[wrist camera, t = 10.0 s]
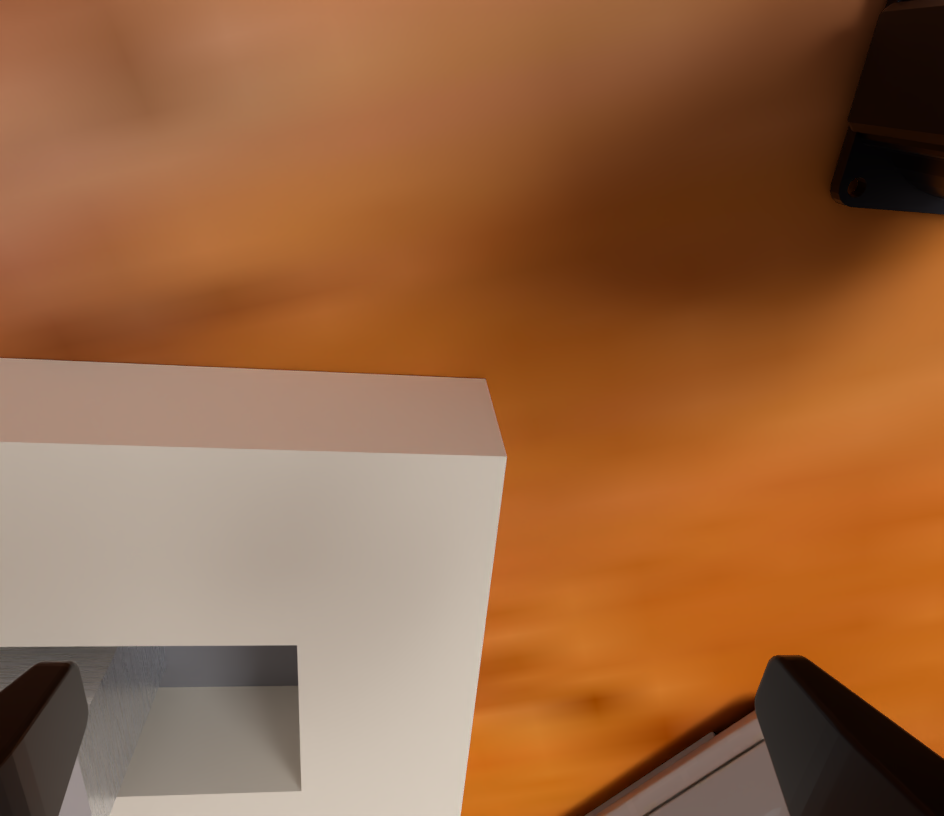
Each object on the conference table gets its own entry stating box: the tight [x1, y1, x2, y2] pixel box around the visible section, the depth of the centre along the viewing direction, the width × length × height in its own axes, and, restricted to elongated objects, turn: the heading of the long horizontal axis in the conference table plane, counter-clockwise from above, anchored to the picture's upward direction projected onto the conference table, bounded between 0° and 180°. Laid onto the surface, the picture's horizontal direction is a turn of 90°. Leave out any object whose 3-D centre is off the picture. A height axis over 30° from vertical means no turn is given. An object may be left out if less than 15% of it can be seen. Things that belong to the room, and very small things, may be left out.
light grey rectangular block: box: [0, 646, 167, 816], centre depth 20 cm, size 4×4×6 cm
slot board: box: [0, 358, 507, 816], centre depth 21 cm, size 24×18×4 cm
